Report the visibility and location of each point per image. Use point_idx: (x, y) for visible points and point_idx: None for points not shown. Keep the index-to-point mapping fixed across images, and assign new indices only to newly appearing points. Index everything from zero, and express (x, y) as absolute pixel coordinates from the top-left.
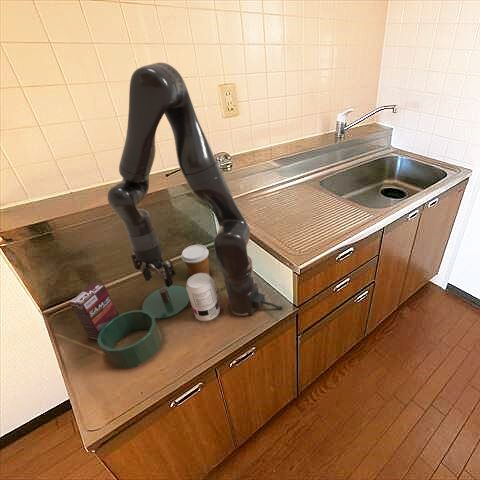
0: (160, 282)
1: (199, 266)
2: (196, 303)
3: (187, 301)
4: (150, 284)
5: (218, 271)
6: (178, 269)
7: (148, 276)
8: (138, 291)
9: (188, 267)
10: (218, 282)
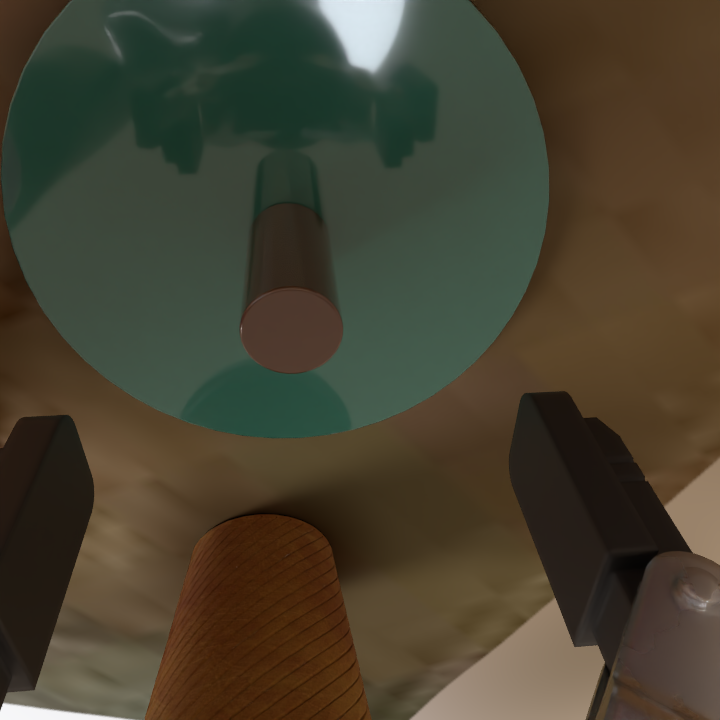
0: None
1: (154, 715)
2: None
3: (66, 316)
4: (636, 350)
5: None
6: (498, 543)
7: (540, 477)
8: (708, 239)
9: (279, 661)
10: None
